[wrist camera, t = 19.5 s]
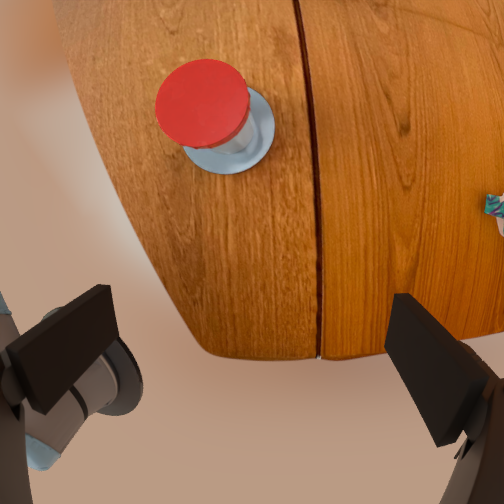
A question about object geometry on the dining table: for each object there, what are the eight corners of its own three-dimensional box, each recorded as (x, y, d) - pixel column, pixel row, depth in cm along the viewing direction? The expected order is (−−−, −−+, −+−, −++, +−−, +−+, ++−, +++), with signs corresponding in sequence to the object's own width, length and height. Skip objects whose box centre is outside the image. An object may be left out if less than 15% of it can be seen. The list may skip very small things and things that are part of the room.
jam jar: (199, 155, 32) (161, 145, 21) (199, 103, 31) (164, 71, 20) (255, 154, 32) (243, 139, 21) (254, 100, 30) (243, 62, 19)
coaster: (181, 176, 34) (179, 176, 33) (182, 89, 31) (180, 87, 30) (275, 174, 33) (275, 173, 32) (274, 83, 30) (274, 81, 29)
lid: (162, 152, 23) (153, 150, 21) (164, 72, 21) (157, 65, 19) (251, 147, 22) (249, 145, 20) (250, 63, 20) (248, 54, 18)
